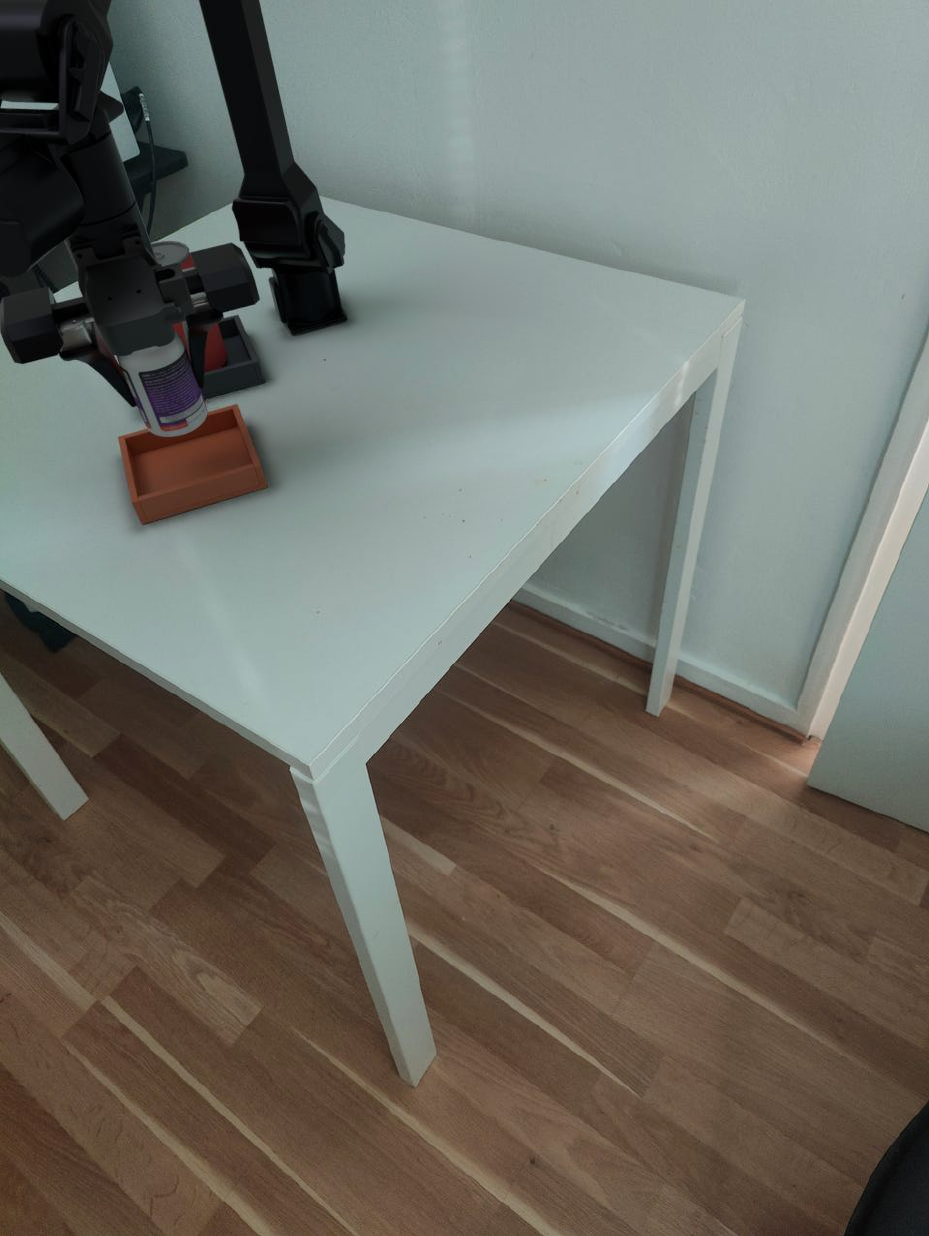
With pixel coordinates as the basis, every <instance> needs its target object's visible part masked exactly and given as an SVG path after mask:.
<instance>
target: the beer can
mask: <svg viewBox="0 0 929 1236" xmlns="http://www.w3.org/2000/svg"><path fill="white" fill-rule="evenodd" d="M151 245H152V248H153V250H154V253H155V256H156V259H157V261H158V263H159V264H161V265H162V267H163V266H167V265H171V264H175V263H179V264H180V266H181V269H182V270H183V269H187V268H192V267H194V264H193V261H192V258H191V254H190V247H188V245H187V244H185V243H183V242H180V241H176V240H162V241H156V242H151ZM172 325H173V328H174V331H175V332H177V333H178V334H179V335H180V336H181V338H182V339H183V342H184V344H185V347H186V350H187V353H188V355H189V352H188V348H187V343H186V338H185V334H184V329H183V324H182V322H180V323H176V324H172ZM189 359H190V357H189ZM226 361H227V352H226V349H225V346H224V342H223V339H222V336H221V333H220V329H219V326H218V323H215V324H213V325H212V327H211V328H210V330H209V332H208V337H207V342H206V349H205V372H208V371H212V370H216V369H220V368H223V367H224V365H225V363H226Z"/></svg>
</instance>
